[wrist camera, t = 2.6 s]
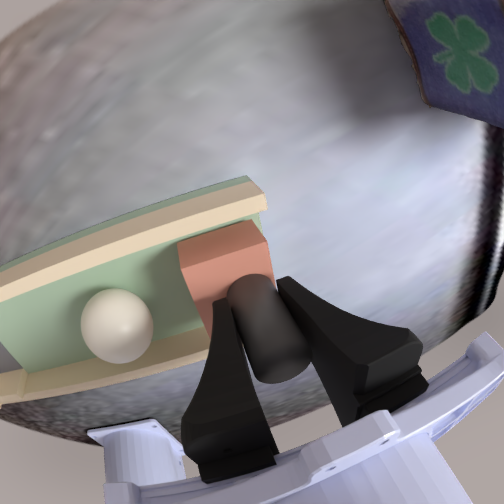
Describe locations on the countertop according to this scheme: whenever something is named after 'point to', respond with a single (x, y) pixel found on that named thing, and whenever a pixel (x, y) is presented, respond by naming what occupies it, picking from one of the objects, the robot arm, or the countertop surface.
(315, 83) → the countertop surface
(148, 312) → the ball
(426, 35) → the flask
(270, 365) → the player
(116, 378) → the pitch
